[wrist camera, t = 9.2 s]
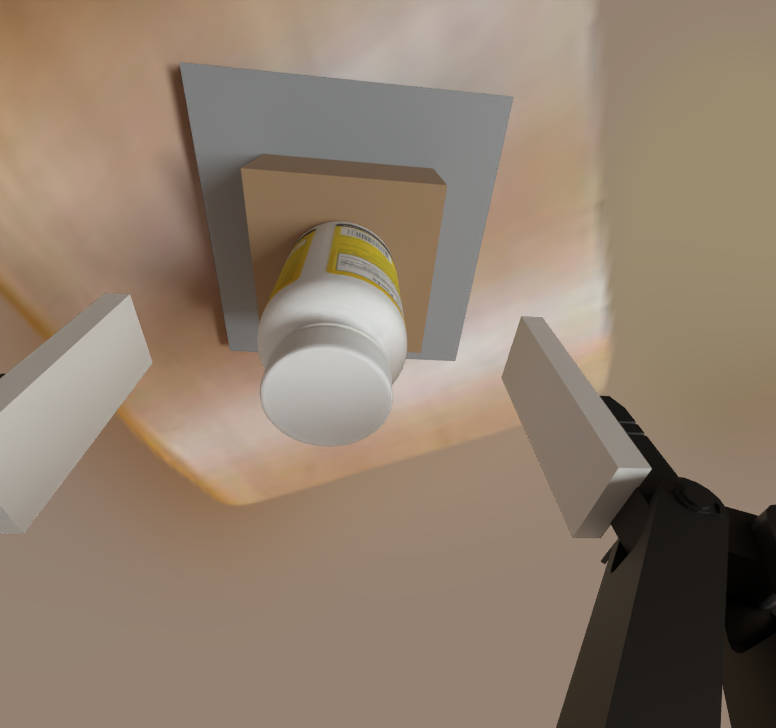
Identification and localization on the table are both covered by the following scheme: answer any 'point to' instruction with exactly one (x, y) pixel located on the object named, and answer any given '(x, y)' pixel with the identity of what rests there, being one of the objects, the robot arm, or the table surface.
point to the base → (349, 135)
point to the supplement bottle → (332, 337)
